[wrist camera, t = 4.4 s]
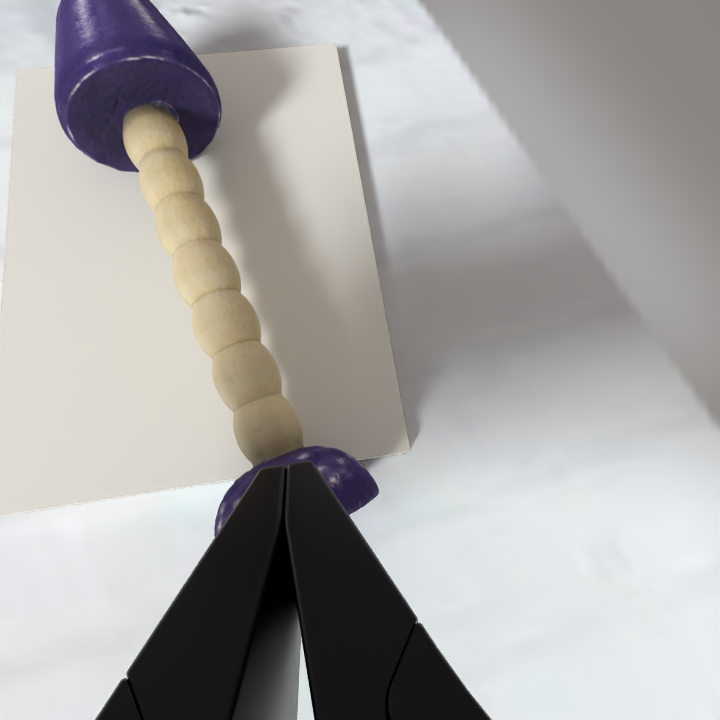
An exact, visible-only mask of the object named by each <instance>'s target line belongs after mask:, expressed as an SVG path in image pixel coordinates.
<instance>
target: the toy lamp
mask: <svg viewBox="0 0 720 720" xmlns="http://www.w3.org/2000/svg"><path fill="white" fill-rule="evenodd" d="M54 99H55V106H56V112H57V116H58V119H59V122H60V124H61V127H62V129H63V130H64V133H65V134H66V136H67V137H68V138H69V139H70V141H71V142H72V143H73V144H74V145H75V147H76V148H77V149H79V150H80V151H82V152H83V153H84V154H85V155H86V156H88V157H89V158H91V159H93V160H94V161H96V162H97V163H100V164H102V165H105V166H108V167H111V168H114V169H116V170H118V171H125V172H137V173H139V185H140V189H141V192H142V195H143V197H144V199H145V201H146V203H147V204H148V206H149V207H150V209H151V210H152V211H153V212H154V213H155V214H156V216H155V225H156V231H157V235H158V238H159V240H160V242H161V245H162V247H163V248H164V250H165V251H166V253H167V254H168V255H169V256H170V257H171V258H172V259H173V265H172V270H173V278H174V282H175V285H176V287H177V290H178V292H179V294H180V296H181V298H182V299H183V300H184V302H185V303H186V304H187V305H188V306H189V307H190V308H192V327H193V331H194V334H195V337H196V339H197V342H198V344H199V345H200V347H201V348H202V350H203V351H204V352H205V353H206V354H207V355H208V356H209V357H210V358H211V359H212V360H213V362H212V375H213V381H214V385H215V387H216V390H217V392H218V394H219V396H220V397H221V399H222V401H223V402H224V404H225V405H226V406H227V407H228V408H229V409H230V410H231V411H232V412H233V413H234V416H233V429H234V434H235V438H236V441H237V444H238V446H239V448H240V449H241V451H242V453H243V454H244V456H245V457H246V458H247V459H248V460H249V461H250V462H251V463H252V465H253V468H252V469H251V470H250V471H247V472H245V473H244V474H243V475H242V476H241V477H239V478H238V479H236V481H235V482H234V484H233V485H232V486H231V487H230V488H229V490H228V491H227V493H226V494H225V496H224V498H223V500H222V502H221V504H220V506H219V509H218V513H217V517H216V520H215V537H216V535H217V534H218V532H219V531H220V529H221V528H222V526H223V525H224V523H225V522H226V520H227V519H228V517H229V516H230V514H231V513H232V511H233V509H234V508H235V506H236V505H237V503H238V502H239V500H240V499H241V497H242V496H243V494H244V493H245V491H246V490H247V488H248V487H249V485H250V484H251V482H252V481H253V479H254V477H255V476H256V474H257V473H258V471H259V470H260V469H262V468H264V467H270V466H276V465H285V466H286V467H288V465H289V464H290V463H295V462H302V461H308V460H310V461H312V462H313V463H314V464H315V465H316V467H317V468H318V470H319V471H320V473H321V474H322V476H323V477H324V479H325V480H326V482H327V483H328V485H329V486H330V488H331V489H332V491H333V492H334V494H335V495H336V497H337V498H338V500H339V501H340V503H341V504H342V506H343V507H344V509H345V510H346V512H347V513H348V515H350V514H351V513H353V512H355V511H357V510H358V509H360V508H362V507H363V506H365V505H366V504H367V503H369V502H370V501H371V500H373V499H374V498H375V497H376V496H377V495H378V493H379V489H378V486H377V484H376V482H375V480H374V479H373V477H372V476H371V475H370V474H369V472H368V471H367V470H366V469H365V467H364V466H363V465H362V464H361V463H360V462H358V461H357V460H356V459H355V458H354V457H352V456H351V455H349V454H347V453H345V452H343V451H341V450H338V449H336V448H331V447H323V446H310V447H304V446H303V429H302V425H301V421H300V419H299V416H298V414H297V412H296V410H295V409H294V407H293V406H292V404H291V403H290V402H289V401H288V400H287V399H286V398H285V397H284V396H283V395H282V381H281V374H280V371H279V368H278V365H277V363H276V361H275V359H274V357H273V355H272V354H271V353H270V352H269V350H268V349H267V348H266V347H265V346H264V345H263V344H262V343H261V326H260V322H259V318H258V316H257V314H256V311H255V310H254V308H253V306H252V305H251V303H250V302H249V301H248V300H247V298H246V297H245V296H243V295H242V294H241V278H240V273H239V271H238V268H237V266H236V264H235V262H234V260H233V258H232V256H231V255H230V253H229V252H228V251H227V250H226V249H225V248H224V247H223V246H222V235H221V229H220V225H219V222H218V220H217V218H216V216H215V214H214V212H213V210H212V209H211V207H210V206H209V205H208V204H207V203H206V202H205V201H204V187H203V183H202V180H201V177H200V175H199V172H198V170H197V169H196V167H195V165H194V164H193V163H192V162H191V159H193V158H194V157H196V156H197V155H199V154H200V153H201V152H203V151H204V150H205V149H206V147H207V146H208V145H209V144H210V143H211V142H212V141H213V138H214V136H215V134H216V131H217V130H218V128H219V126H220V121H221V113H222V108H221V99H220V96H219V92H218V89H217V87H216V85H215V82H214V80H213V78H212V76H211V75H210V73H209V72H208V70H207V69H206V68H205V66H204V65H203V64H202V62H201V61H200V60H199V59H198V57H197V56H196V55H195V54H194V52H193V51H192V50H191V49H190V48H189V46H188V45H187V44H186V43H185V41H184V40H183V39H182V38H181V36H180V35H179V34H178V33H177V32H176V31H175V29H174V28H173V27H172V26H171V25H170V24H169V22H168V21H167V20H166V19H165V18H164V17H163V15H162V14H161V13H160V12H159V11H158V9H157V8H156V7H155V6H154V5H153V4H152V3H151V2H150V1H149V0H61V2H60V5H59V7H58V11H57V17H56V37H55V73H54Z"/></svg>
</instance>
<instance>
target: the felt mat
mask: <svg viewBox="0 0 720 720" xmlns="http://www.w3.org/2000/svg"><path fill="white" fill-rule="evenodd" d="M196 56H197V57H198V59H199V60H200V61H201V62H202V64H203V65H204V66H205V68H206V69H207V70H208V72H209V73H210V75H211V76H212V78H213V80H214V82H215V85H216V87H217V89H218V92H219V96H220V99H221V108H222V113H221V121H220V126H219V128H218V130H217V131H216V134H215V136H214V138H213V141H212V142H211V143H210V144H209V145H208V146H207V147H206V149H205V150H204V151H203V152H201V153H200V154H199V155H197V156H196V157H194V158H193V159H191V162H192V163H193V164H194V165H195V167H196V169H197V170H198V172H199V175H200V177H201V180H202V183H203V187H204V201H205V202H206V203H207V204H208V205H209V206H210V207H211V209H212V210H213V212H214V214H215V216H216V218H217V220H218V222H219V225H220V229H221V235H222V246H223V247H224V248H225V249H226V250H227V251H228V252H229V253H230V255H231V256H232V258H233V260H234V262H235V264H236V266H237V268H238V271H239V273H240V278H241V294H242V295H243V296H245V297H246V298H247V300H248V301H249V302H250V303H251V305H252V306H253V308H254V310H255V311H256V314H257V316H258V318H259V322H260V326H261V343H262V344H263V345H264V346H265V347H266V348H267V349H268V350H269V352H270V353H271V354H272V355H273V357H274V359H275V361H276V363H277V365H278V368H279V371H280V374H281V381H282V395H283V396H284V397H285V398H286V399H287V400H288V401H289V402H290V403H291V404H292V406H293V407H294V409H295V410H296V412H297V414H298V416H299V419H300V421H301V425H302V429H303V446H304V447H310V446H323V447H331V448H336V449H338V450H341V451H343V452H345V453H347V454H349V455H351V456H352V457H354V458H355V459H356V460H357V461H358V460H365V459H371V458H377V457H384V456H390V455H397V454H403V453H408V452H410V451H411V450H410V445H409V439H408V434H407V428H406V423H405V417H404V412H403V407H402V401H401V396H400V390H399V385H398V379H397V374H396V368H395V363H394V358H393V352H392V347H391V341H390V336H389V330H388V325H387V319H386V314H385V308H384V303H383V298H382V292H381V287H380V281H379V276H378V270H377V265H376V259H375V254H374V248H373V243H372V238H371V232H370V227H369V221H368V216H367V210H366V205H365V199H364V194H363V188H362V183H361V178H360V172H359V167H358V161H357V156H356V150H355V145H354V139H353V134H352V128H351V123H350V118H349V112H348V107H347V101H346V96H345V90H344V85H343V79H342V74H341V68H340V63H339V58H338V52H337V47H336V43H333V44H321V45H309V46H297V47H284V48H272V49H260V50H248V51H235V52H223V53H211V54H199V55H196ZM54 73H55V66H51V67H39V68H27V69H17V73H16V88H15V104H14V119H13V134H12V150H11V165H10V181H9V196H8V212H7V227H6V243H5V258H4V273H3V289H2V304H1V320H0V516H7V515H13V514H20V513H26V512H32V511H39V510H45V509H52V508H58V507H64V506H71V505H77V504H84V503H90V502H96V501H103V500H109V499H116V498H122V497H128V496H135V495H141V494H147V493H154V492H160V491H167V490H173V489H179V488H186V487H192V486H199V485H205V484H211V483H218V482H224V481H230V480H236V479H238V478H239V477H241V476H242V475H243V474H244V473H245V472H247V471H250V470H251V469H252V468H253V465H252V463H251V462H250V461H249V460H248V459H247V458H246V457H245V456H244V454H243V453H242V451H241V449H240V448H239V446H238V444H237V441H236V438H235V434H234V429H233V416H234V413H233V412H232V411H231V410H230V409H229V408H228V407H227V406H226V405H225V404H224V402H223V401H222V399H221V397H220V396H219V394H218V392H217V390H216V387H215V385H214V381H213V375H212V362H213V360H212V359H211V358H210V357H209V356H208V355H207V354H206V353H205V352H204V351H203V350H202V348H201V347H200V345H199V344H198V342H197V339H196V337H195V334H194V331H193V327H192V308H190V307H189V306H188V305H187V304H186V303H185V302H184V300H183V299H182V298H181V296H180V294H179V292H178V290H177V287H176V285H175V282H174V278H173V270H172V265H173V259H172V258H171V257H170V256H169V255H168V254H167V253H166V251H165V250H164V248H163V247H162V245H161V242H160V240H159V238H158V235H157V231H156V225H155V216H156V214H155V213H154V212H153V211H152V210H151V209H150V207H149V206H148V204H147V203H146V201H145V199H144V197H143V195H142V192H141V189H140V185H139V173H137V172H125V171H118V170H116V169H114V168H111V167H108V166H105V165H102V164H100V163H97V162H96V161H94V160H93V159H91V158H89V157H88V156H86V155H85V154H84V153H83V152H82V151H80V150H79V149H77V148H76V147H75V145H74V144H73V143H72V142H71V141H70V139H69V138H68V137H67V136H66V134H65V133H64V130H63V129H62V127H61V124H60V122H59V119H58V116H57V112H56V106H55V99H54Z"/></svg>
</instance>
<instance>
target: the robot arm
mask: <svg viewBox="0 0 720 720" xmlns="http://www.w3.org/2000/svg"><path fill="white" fill-rule="evenodd" d="M301 637H302V643H303V649H304V656H305V662H306V668H307V675H308V681H309V687H310V694H311V700H312V707H313V713H314V719H315V720H491V718H490V717H489V716H488V715H487V713H486V712H485V711H484V710H483V708H482V707H481V706H480V705H479V703H478V702H477V701H476V700H475V698H474V697H473V696H472V695H471V693H470V692H469V691H468V690H467V688H466V687H465V685H464V684H463V683H462V681H461V680H460V678H459V677H458V676H457V674H456V673H455V671H454V670H453V669H452V667H451V666H450V664H449V663H448V662H447V660H446V659H445V657H444V656H443V655H442V653H441V652H440V650H439V649H438V648H437V646H436V645H435V643H434V642H433V640H432V639H431V637H430V636H429V634H428V633H427V631H426V630H425V628H424V627H423V625H422V624H421V623H418V619H417V617H416V615H415V614H414V612H413V611H412V609H411V608H410V606H409V605H408V603H407V602H406V600H405V599H404V597H403V596H402V594H401V593H400V591H399V590H398V588H397V587H396V585H395V584H394V582H393V581H392V579H391V578H390V576H389V575H388V573H387V572H386V570H385V569H384V567H383V566H382V564H381V563H380V561H379V560H378V558H377V557H376V555H375V554H374V552H373V551H372V549H371V548H370V546H369V545H368V543H367V542H366V540H365V539H364V537H363V536H362V534H361V533H360V531H359V530H358V528H357V527H356V525H355V524H354V522H353V521H352V519H351V518H350V516H349V515H348V513H347V512H346V510H345V509H344V507H343V506H342V504H341V503H340V501H339V500H338V498H337V497H336V495H335V494H334V492H333V491H332V489H331V488H330V486H329V485H328V483H327V482H326V480H325V479H324V477H323V476H322V474H321V473H320V471H319V470H318V468H317V467H316V465H315V464H314V463H313V462H312V461H310V460H308V461H302V462H295V463H290V464H289V465H288V467H286V466H285V465H276V466H270V467H264V468H262V469H260V470H259V471H258V473H257V474H256V476H255V477H254V479H253V481H252V482H251V484H250V485H249V487H248V488H247V490H246V491H245V493H244V494H243V496H242V497H241V499H240V500H239V502H238V503H237V505H236V506H235V508H234V509H233V511H232V513H231V514H230V516H229V517H228V519H227V520H226V522H225V523H224V525H223V526H222V528H221V529H220V531H219V532H218V534H217V535H216V537H215V538H214V540H213V541H212V543H211V545H210V546H209V548H208V549H207V551H206V552H205V554H204V555H203V557H202V558H201V560H200V561H199V563H198V564H197V566H196V567H195V569H194V570H193V572H192V573H191V575H190V577H189V578H188V580H187V581H186V583H185V584H184V586H183V587H182V589H181V590H180V592H179V593H178V595H177V596H176V598H175V599H174V601H173V602H172V604H171V605H170V607H169V609H168V610H167V612H166V613H165V615H164V616H163V618H162V619H161V621H160V622H159V624H158V625H157V627H156V628H155V630H154V631H153V633H152V634H151V636H150V637H149V639H148V641H147V642H146V644H145V645H144V647H143V648H142V650H141V651H140V653H139V654H138V656H137V657H136V659H135V660H134V662H133V663H132V665H131V666H130V668H129V669H128V671H127V678H128V679H127V678H124V679H122V680H121V681H120V683H119V684H118V686H117V687H116V689H115V690H114V692H113V693H112V695H111V696H110V698H109V699H108V701H107V702H106V704H105V706H104V707H103V709H102V710H101V712H100V713H99V715H98V716H97V718H96V719H95V720H297V707H298V686H299V665H300V645H301Z"/></svg>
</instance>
